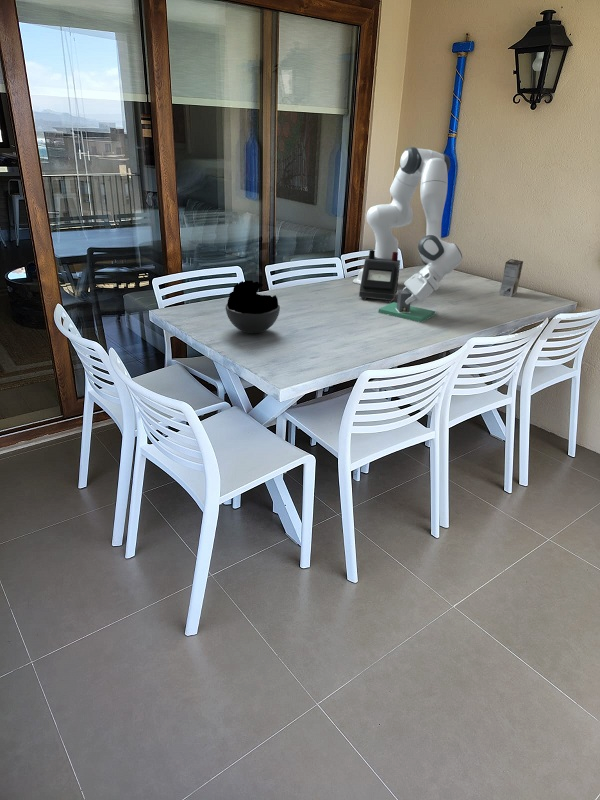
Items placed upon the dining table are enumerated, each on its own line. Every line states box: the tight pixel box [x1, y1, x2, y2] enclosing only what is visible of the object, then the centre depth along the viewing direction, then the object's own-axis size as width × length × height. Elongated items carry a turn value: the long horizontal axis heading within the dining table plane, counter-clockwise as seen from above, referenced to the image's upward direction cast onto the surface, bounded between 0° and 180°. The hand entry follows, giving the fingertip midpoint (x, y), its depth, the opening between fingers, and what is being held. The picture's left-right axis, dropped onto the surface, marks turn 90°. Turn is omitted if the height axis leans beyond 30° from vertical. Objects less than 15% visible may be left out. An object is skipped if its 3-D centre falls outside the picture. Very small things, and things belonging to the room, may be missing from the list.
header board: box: [378, 301, 436, 323], centre depth 232 cm, size 20×14×2 cm
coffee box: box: [499, 258, 524, 298], centre depth 265 cm, size 9×6×16 cm
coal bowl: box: [225, 279, 281, 334], centre depth 200 cm, size 20×20×19 cm
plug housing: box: [396, 289, 412, 312], centre depth 229 cm, size 5×4×8 cm
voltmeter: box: [358, 249, 401, 303], centre depth 251 cm, size 16×16×20 cm
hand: (402, 299), depth 229 cm, fingers open, 8 cm apart
